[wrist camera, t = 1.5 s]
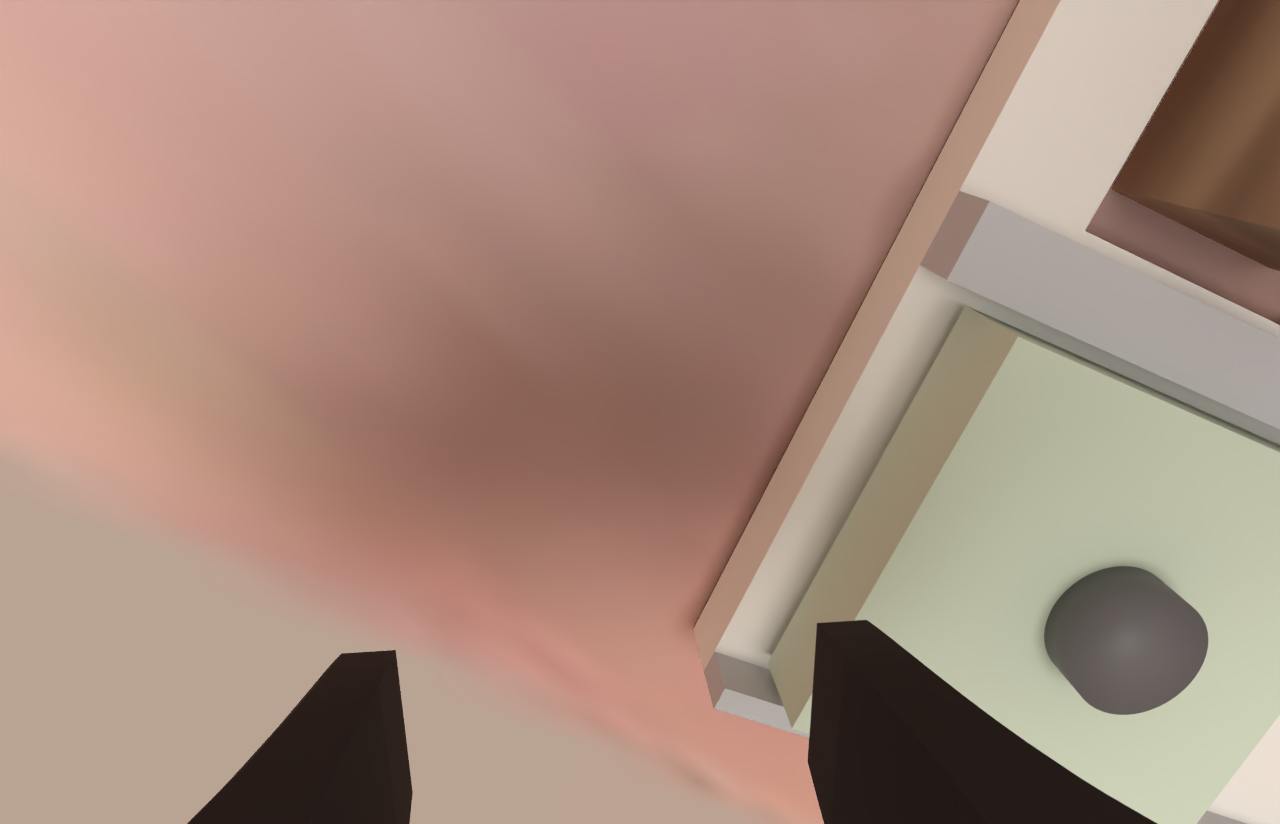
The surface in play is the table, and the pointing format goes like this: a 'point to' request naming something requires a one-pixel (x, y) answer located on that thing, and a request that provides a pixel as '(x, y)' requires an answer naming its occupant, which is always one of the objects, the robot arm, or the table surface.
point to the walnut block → (1220, 136)
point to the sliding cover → (1069, 567)
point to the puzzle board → (1005, 317)
